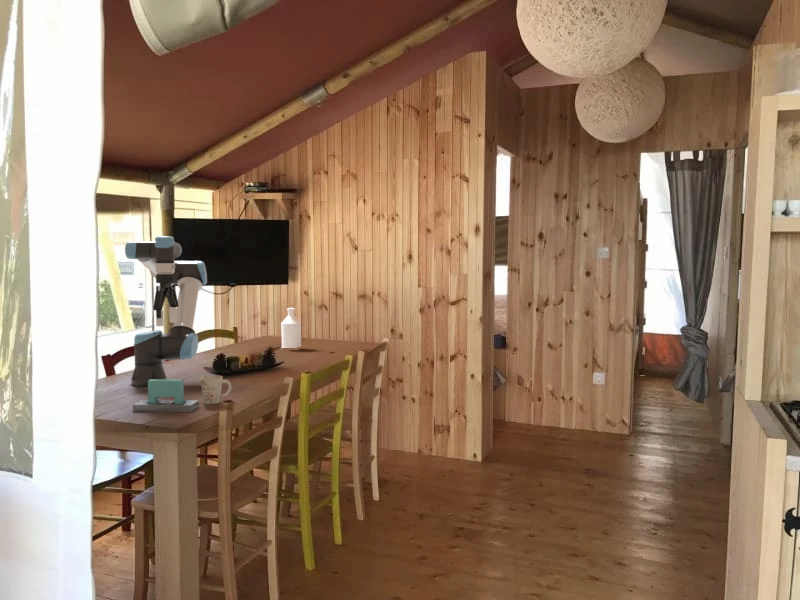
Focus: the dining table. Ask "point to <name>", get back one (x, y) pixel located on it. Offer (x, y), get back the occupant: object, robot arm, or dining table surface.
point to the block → (166, 406)
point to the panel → (165, 390)
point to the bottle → (291, 331)
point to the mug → (213, 388)
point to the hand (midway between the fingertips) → (166, 324)
